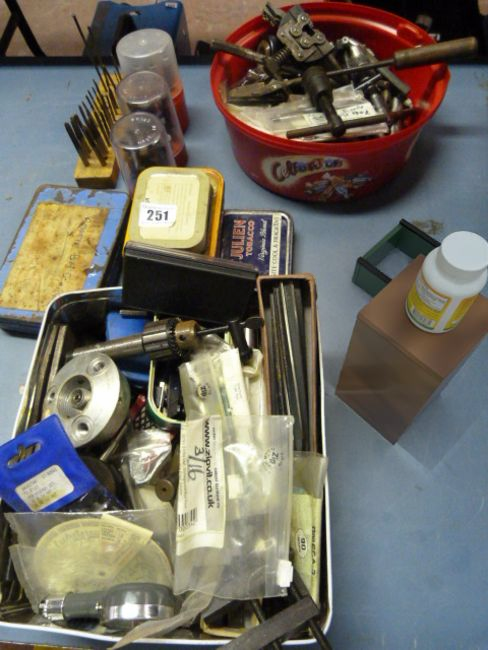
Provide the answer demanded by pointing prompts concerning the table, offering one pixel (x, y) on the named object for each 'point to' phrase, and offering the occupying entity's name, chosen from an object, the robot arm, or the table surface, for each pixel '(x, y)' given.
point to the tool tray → (400, 237)
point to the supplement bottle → (448, 282)
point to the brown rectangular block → (403, 358)
